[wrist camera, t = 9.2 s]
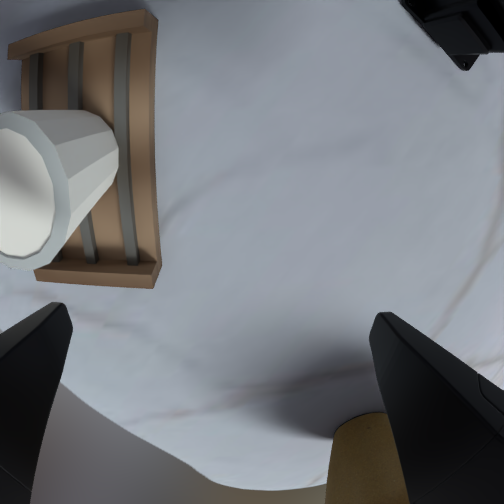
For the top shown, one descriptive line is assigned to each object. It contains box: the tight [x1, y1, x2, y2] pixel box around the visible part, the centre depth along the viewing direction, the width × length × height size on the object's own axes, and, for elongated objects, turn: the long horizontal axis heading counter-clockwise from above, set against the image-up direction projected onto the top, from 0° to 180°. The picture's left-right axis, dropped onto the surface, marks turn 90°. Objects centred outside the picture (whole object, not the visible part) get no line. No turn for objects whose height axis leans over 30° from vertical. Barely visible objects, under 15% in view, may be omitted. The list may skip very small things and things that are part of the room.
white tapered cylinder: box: [0, 110, 119, 271], centre depth 12 cm, size 7×7×7 cm
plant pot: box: [325, 412, 410, 504], centre depth 26 cm, size 15×15×16 cm
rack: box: [7, 9, 162, 289], centre depth 16 cm, size 16×9×3 cm, turn 177°
